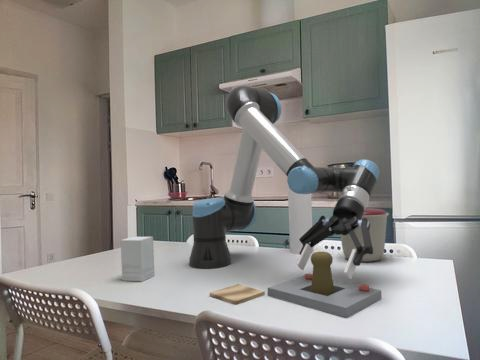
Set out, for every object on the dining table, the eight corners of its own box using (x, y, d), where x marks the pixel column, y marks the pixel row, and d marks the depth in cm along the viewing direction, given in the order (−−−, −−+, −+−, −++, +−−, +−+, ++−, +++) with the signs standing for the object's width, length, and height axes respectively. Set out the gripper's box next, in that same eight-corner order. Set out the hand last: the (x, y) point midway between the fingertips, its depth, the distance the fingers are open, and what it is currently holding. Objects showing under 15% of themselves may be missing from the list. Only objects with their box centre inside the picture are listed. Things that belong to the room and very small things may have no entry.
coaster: (209, 295, 90) (209, 292, 90) (238, 287, 96) (238, 284, 96) (235, 304, 82) (235, 301, 82) (264, 294, 89) (264, 291, 89)
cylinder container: (313, 253, 138) (310, 177, 138) (289, 253, 140) (286, 178, 140) (313, 249, 147) (310, 178, 148) (290, 249, 149) (288, 178, 150)
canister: (346, 252, 139) (344, 199, 139) (395, 256, 128) (393, 199, 128) (329, 261, 124) (327, 202, 124) (383, 267, 113) (381, 202, 114)
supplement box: (155, 275, 112) (154, 236, 112) (141, 282, 105) (140, 240, 105) (135, 274, 114) (134, 235, 114) (121, 280, 107) (119, 239, 107)
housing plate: (267, 295, 88) (267, 283, 88) (305, 281, 99) (305, 271, 99) (346, 317, 72) (345, 303, 72) (381, 298, 83) (381, 286, 83)
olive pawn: (307, 294, 88) (305, 250, 89) (330, 292, 89) (329, 249, 89) (314, 301, 82) (312, 255, 83) (339, 300, 83) (337, 253, 83)
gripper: (307, 196, 103) (276, 255, 93) (391, 196, 85) (364, 270, 75) (318, 213, 107) (289, 272, 96) (401, 216, 89) (377, 289, 78)
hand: (322, 271), depth 86 cm, fingers open, 13 cm apart
